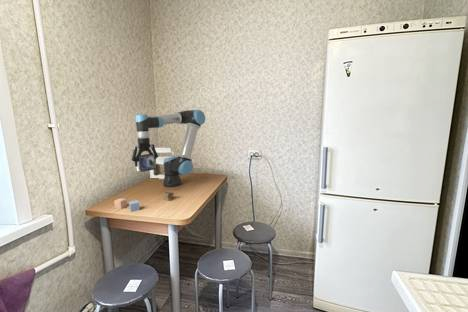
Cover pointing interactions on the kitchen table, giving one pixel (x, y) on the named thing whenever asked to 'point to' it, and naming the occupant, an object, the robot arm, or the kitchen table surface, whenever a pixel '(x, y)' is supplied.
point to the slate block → (134, 206)
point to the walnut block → (168, 196)
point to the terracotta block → (120, 203)
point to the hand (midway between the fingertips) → (146, 169)
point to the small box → (146, 162)
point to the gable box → (160, 160)
